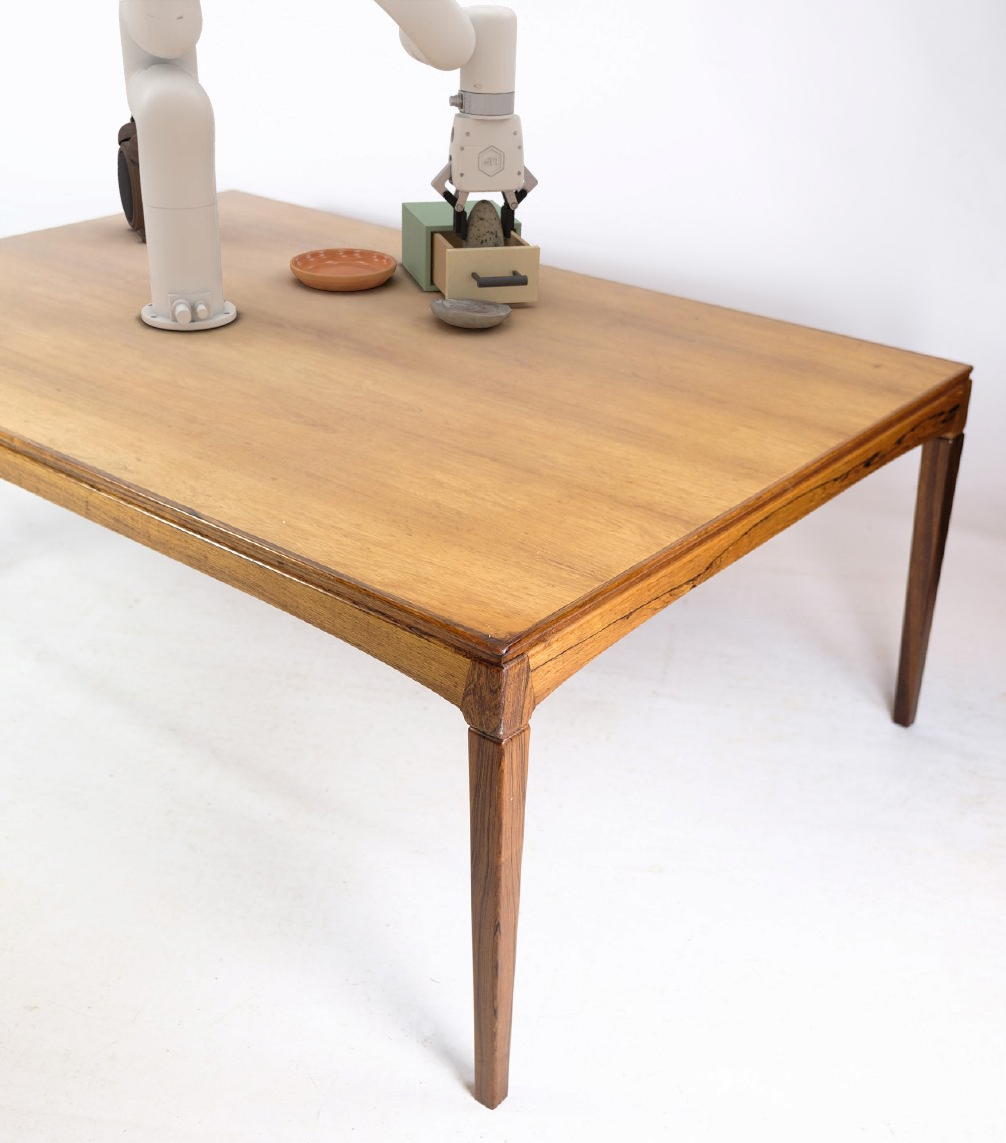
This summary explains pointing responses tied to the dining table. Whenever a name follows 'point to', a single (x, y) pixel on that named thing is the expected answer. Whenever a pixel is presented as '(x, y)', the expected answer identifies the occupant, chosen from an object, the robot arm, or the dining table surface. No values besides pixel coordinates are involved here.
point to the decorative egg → (483, 227)
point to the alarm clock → (130, 177)
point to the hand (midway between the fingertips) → (483, 235)
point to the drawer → (485, 269)
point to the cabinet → (429, 235)
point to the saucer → (343, 268)
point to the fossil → (470, 312)
